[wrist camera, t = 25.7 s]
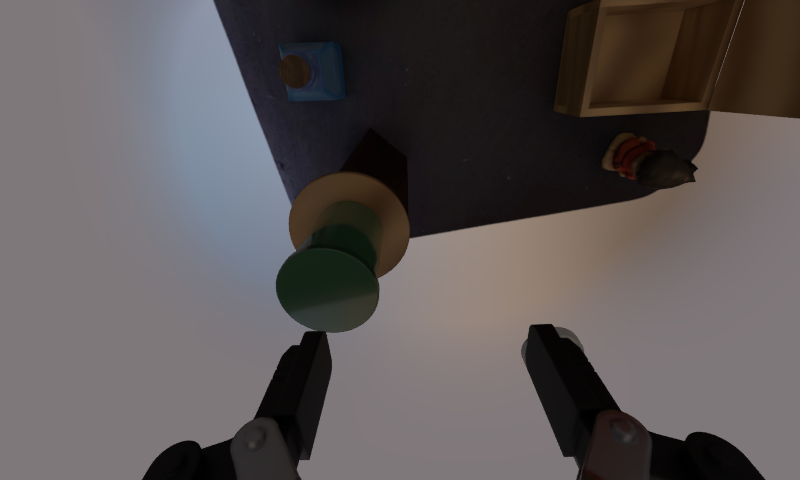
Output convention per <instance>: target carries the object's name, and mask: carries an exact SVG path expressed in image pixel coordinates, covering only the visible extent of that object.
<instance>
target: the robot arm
mask: <svg viewBox="0 0 800 480" xmlns="http://www.w3.org/2000/svg"><path fill="white" fill-rule="evenodd" d="M525 360H526V366H527V369H528V372H529V374H530V377H531V379H532V381H533V384H534V386H535V389H536V391H537V394H538V396H539V398H540V401H541V403H542V406H543V408H544V410H545V413H546V415H547V417H548V420H549V422H550V425H551V427H552V429H553V432H554V434H555V437H556V439H557V442H558V444H559V446H560V449H561V451H562V453H563V456H564V457H574V459H575V461H576V463H577V465H578V468H579V472H578V475H577V479H576V480H765V479H764V477H763V476H762V475H761V474H760V473H759V471H758V470H757V469H756V468H755V467H754V466H753V464H752V463H751V462H750V461H749V460H748V458H747V457H746V456H745V455H744V454H743V453H742V452H741V451H740V450H739V449H737V448H736V447H735V446H733V445H732V444H730V443H729V442H727V441H726V440H724V439H722V438H720V437H718V436H715V435H712V434H710V433H705V432H694V433H691V434H689V435H688V436H687V438H686V440H685V441H682V440H678V439H674V438H671V437H667V436H663V435H659V434H656V433H653V432H650V431H648V430H647V429H646V428H645V427H644V426H643V425H642V424H641V423H640V422H639V421H638V420H636V419H635V418H634V417H632V416H630V415H629V414H627V413H624V412H622V411H621V410H620V408H619V407H618V405H617V404H616V402H615V400H614V399H613V398H612V396H611V394H610V393H609V391H608V390H607V388H606V387H605V385H604V384H603V382H602V380H601V379H600V377H599V376H598V374H597V373H596V372H595V371H594V368H593V367H592V365H591V363H590V362H588V359H587V357H586V356H585V354H584V353H583V351H582V350H581V348H580V347H579V346H578V345H576V344H575V343H574V342H573V341H572V340H570V339H569V338H561V337H560V336H559V334H558V332H557V331H556V329H555V327H554V326H553V325H552V324H538V325H531V326H530V328H529V333H528V340H527V346H526V352H525ZM331 371H332V359H331V354H330V349H329V344H328V339H327V335H326V332H325V331H308V332H305V333H304V335H303V338H302V341H301V343H300V345H292V346H291V347H290V348H289V349H288V350H287V351H286V352H285V353H284V354H283V356H282V357H281V359H280V361H279V364H278V366H277V370H275V373H274V375H273V379H272V380H271V382H270V384H269V386H268V388H267V391H266V393H265V395H264V398H263V400H262V402H261V404H260V407H259V409H258V411H257V413H256V415H255V417H254V419H253V420H252V421H250V422H248V423H247V424H245V425H244V426H243V427H242V428H241V429H240V430H239V431H238V432H237V433H236V435H235V436H234V438H232V439H229V440H227V441H224V442H221V443H218V444H215V445H212V446H209V447H206V448H203V449H201V447H200V445H199V444H198V443H197V442H195V441H182V442H179V443H176V444H174V445H172V446H171V447H169V448H167V449H166V450H165V451H163V452H162V453H161V454H160V455H159V456H158V457H157V458H156V459H155V460H154V461H153V463H152V464H151V466H150V467H149V469H148V470H147V472H146V474H145V475H144V477H143V479H142V480H301V478H300V477H299V475H298V472H297V466H298V463H299V460H310V455H311V452H312V448H313V444H314V439H315V436H316V432H317V428H318V424H319V420H320V416H321V412H322V408H323V404H324V400H325V396H326V392H327V388H328V384H329V380H330V376H331Z"/></svg>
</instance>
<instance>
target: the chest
mask: <svg viewBox="0 0 800 480" xmlns="http://www.w3.org/2000/svg"><path fill="white" fill-rule="evenodd" d="M743 2H744V0H593V1H591V2H589V3H586V4H584V5H581V6H579V7H576V8H574V9H572V10H569V11H568V14H567V21H566V27H565V34H564V41H563V48H562V55H561V62H560V69H559V76H558V83H557V90H556V96H555V103H554V110H553V111H555V112H559V113H564V114H568V115H573V116H577V117H591V116H608V115H625V114H643V113H660V112H677V111H695V110H707V107H708V104H709V101H710V99H711V96H712V93H713V90H714V87H715V84H716V81H717V78H718V75H719V72H720V69H721V66H722V63H723V61H724V58H725V55H726V52H727V49H728V46H729V43H730V40H731V37H732V34H733V31H734V28H735V25H736V22H737V19H738V16H739V14H740V11H741V8H742V5H743Z"/></svg>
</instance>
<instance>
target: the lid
mask: <svg viewBox="0 0 800 480" xmlns="http://www.w3.org/2000/svg"><path fill="white" fill-rule="evenodd" d="M708 110H709V111H720V112H732V113H743V114H754V115H767V116H777V117H788V118H800V0H745V2H744V5H743V8H742V11H741V14H740V17H739V20H738V22H737V26H736V28H735V31H734V34H733V37H732V40H731V43H730V46H729V49H728V52H727V55H726V57H725V60H724V63H723V66H722V69H721V72H720V75H719V78H718V81H717V84H716V87H715V90H714V92H713V95H712V98H711V101H710V104H709V107H708Z"/></svg>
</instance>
